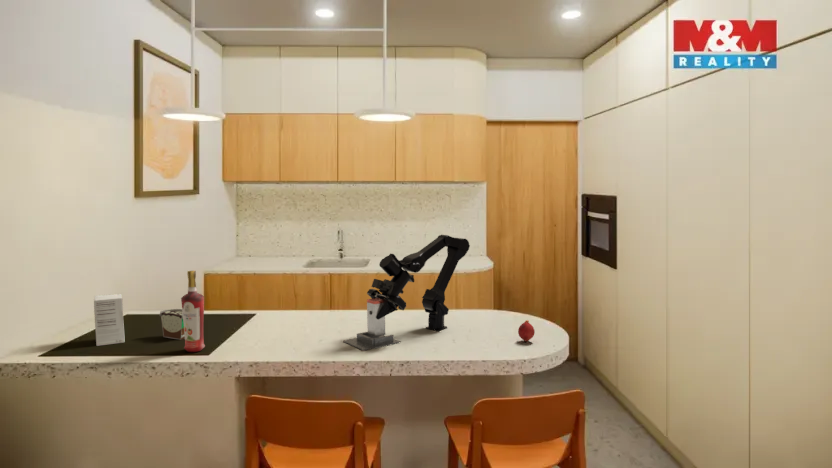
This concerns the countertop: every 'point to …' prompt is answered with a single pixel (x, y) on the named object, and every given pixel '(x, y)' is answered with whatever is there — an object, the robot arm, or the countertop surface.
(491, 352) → the countertop surface
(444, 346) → the countertop surface
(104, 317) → the supplement box
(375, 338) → the plate
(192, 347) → the liquor
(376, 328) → the block
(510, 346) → the countertop surface
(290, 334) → the countertop surface
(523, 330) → the onion
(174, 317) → the food container
